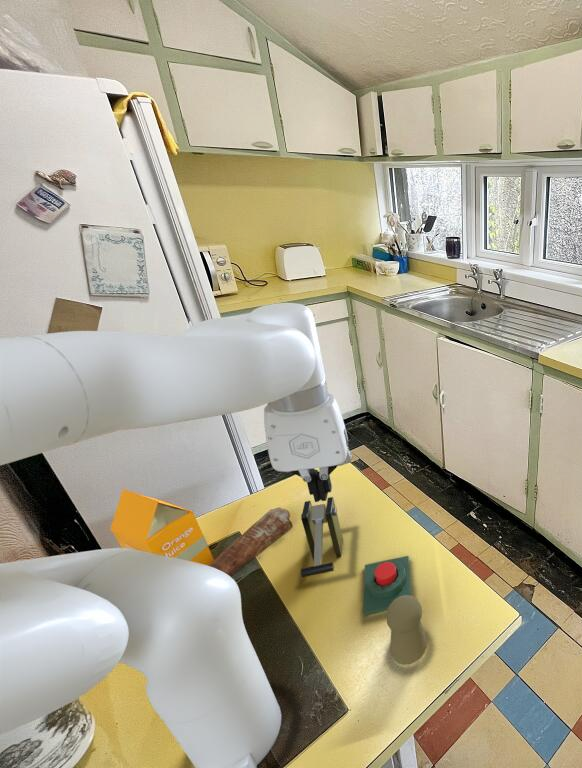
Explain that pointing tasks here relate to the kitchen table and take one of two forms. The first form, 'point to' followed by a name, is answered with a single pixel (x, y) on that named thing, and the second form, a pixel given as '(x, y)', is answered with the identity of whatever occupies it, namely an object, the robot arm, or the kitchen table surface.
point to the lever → (318, 543)
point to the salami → (253, 541)
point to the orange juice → (159, 528)
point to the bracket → (332, 524)
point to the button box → (383, 596)
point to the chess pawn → (406, 630)
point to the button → (385, 573)
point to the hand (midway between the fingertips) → (322, 495)
